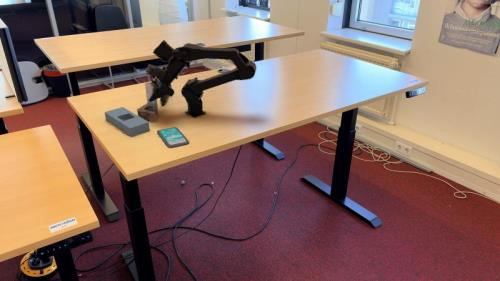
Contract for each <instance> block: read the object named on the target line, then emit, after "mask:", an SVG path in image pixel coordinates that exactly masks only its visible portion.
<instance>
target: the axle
mask: <svg viewBox="0 0 500 281" xmlns="http://www.w3.org/2000/svg"><path fill="white" fill-rule="evenodd" d="M144 86H145V95H146V96H147V97H146V96H145V97H146V104H148V110H150V111H155V112H156V116H158V115H159V106H158V104H159V103H158V99H156V100H154V101H152V102H150V101H149V99H150V97H151V95H152V94H153V92H154V91H155V83H154V82H150V81H149V82H146V83H144Z"/></svg>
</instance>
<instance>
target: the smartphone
mask: <svg viewBox="0 0 500 281" xmlns="http://www.w3.org/2000/svg"><path fill="white" fill-rule="evenodd" d="M156 134H157V135H158V138H160V139H161V141H162V142H163V143H164V145H165V146H166V147H167V148H168V149H174V148H178V147H182V146H188V145H189V144H190V141H189V139H188V137H186V136H185V135H184V133H183V132H182V131H181V130H180V129H179V128H178V127H176V126H174V127H173V126H171V127H167V128H163V129H158V130H156Z"/></svg>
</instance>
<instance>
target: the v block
mask: <svg viewBox="0 0 500 281" xmlns="http://www.w3.org/2000/svg"><path fill="white" fill-rule="evenodd" d="M136 111H137V115H138V116H139V117H141V118H143V119H144V120H146V121H148V122H149V123H155V122H157V115H156V112H155V111H150V110H148V104H147V103H145V104H144V105H142V106H140V107H138V108H137V109H136Z"/></svg>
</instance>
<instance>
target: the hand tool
mask: <svg viewBox="0 0 500 281" xmlns="http://www.w3.org/2000/svg"><path fill="white" fill-rule="evenodd" d="M171 88H172V89H173V87H172V86H171ZM169 97H170V96H169V95H166V96H163V97H161V98H159V102H160V105H161V107H163V106H164V105H166V103H167V101H168V98H169Z"/></svg>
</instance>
